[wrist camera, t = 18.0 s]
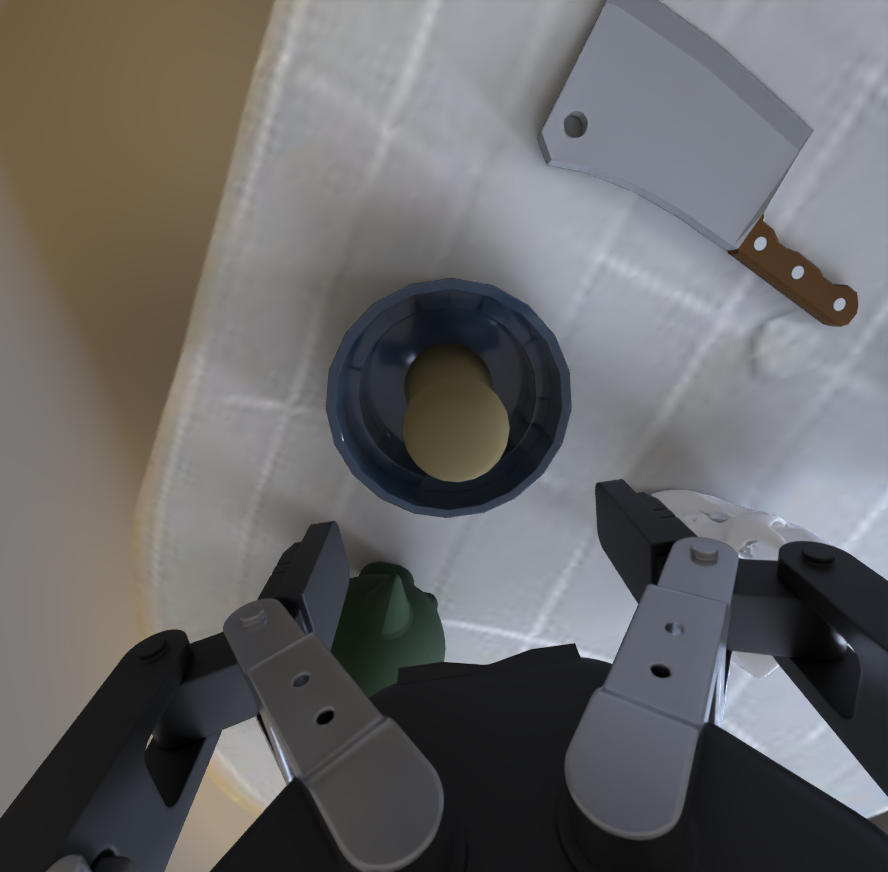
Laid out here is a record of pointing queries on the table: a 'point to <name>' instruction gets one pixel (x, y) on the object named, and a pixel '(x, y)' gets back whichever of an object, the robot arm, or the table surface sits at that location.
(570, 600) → the table surface
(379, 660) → the toy figurine
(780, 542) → the skull bowl
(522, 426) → the bowl
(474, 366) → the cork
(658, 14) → the kitchen cleaver
